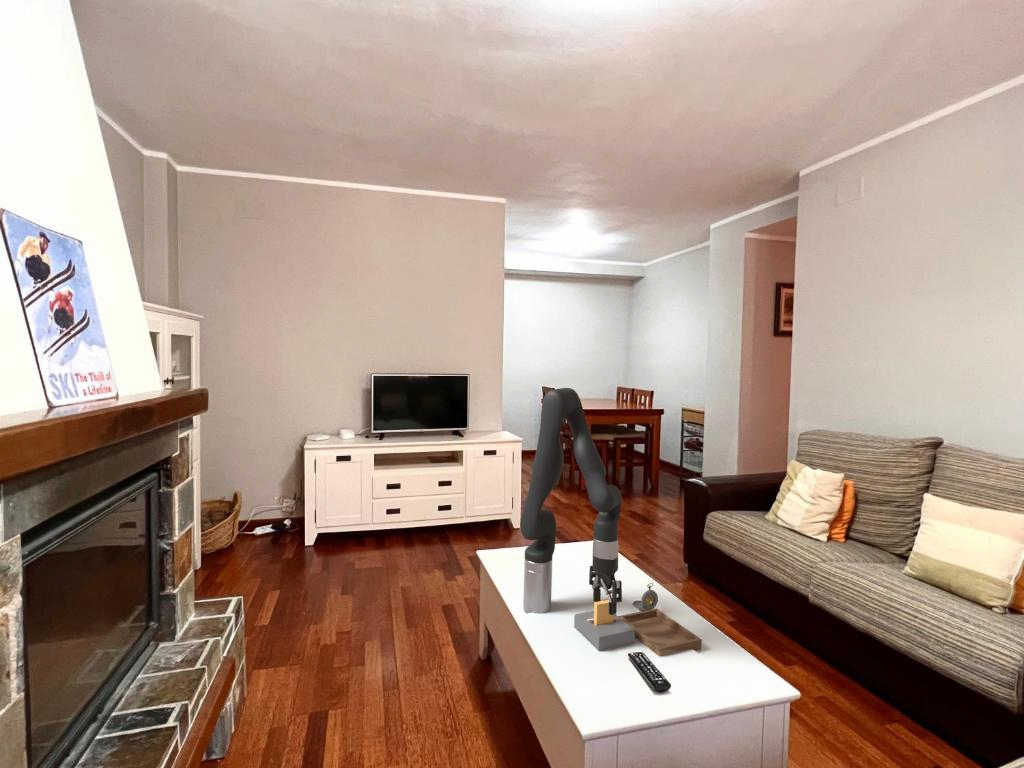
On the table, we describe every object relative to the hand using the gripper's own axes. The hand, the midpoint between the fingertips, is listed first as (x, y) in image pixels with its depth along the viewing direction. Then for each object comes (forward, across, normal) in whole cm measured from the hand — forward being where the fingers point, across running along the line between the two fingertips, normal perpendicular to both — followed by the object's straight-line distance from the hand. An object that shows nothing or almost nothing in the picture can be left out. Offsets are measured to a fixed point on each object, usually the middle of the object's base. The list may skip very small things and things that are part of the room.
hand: (604, 607), depth 151 cm
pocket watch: (+10, -12, +23) cm, 28 cm away
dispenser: (+9, -1, 0) cm, 9 cm away
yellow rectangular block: (+8, 0, 0) cm, 8 cm away
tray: (+10, +4, +16) cm, 19 cm away
